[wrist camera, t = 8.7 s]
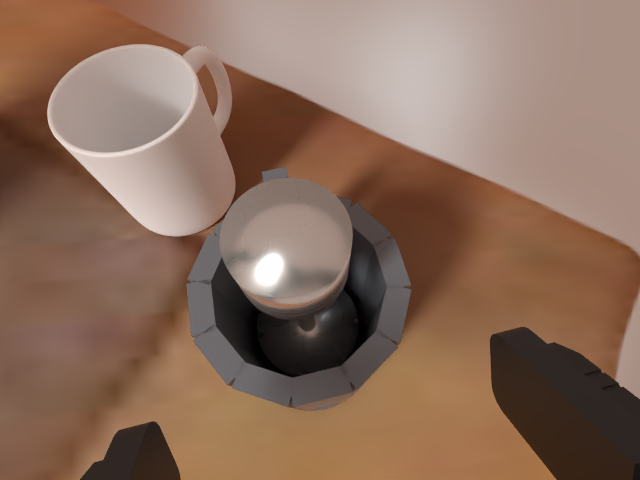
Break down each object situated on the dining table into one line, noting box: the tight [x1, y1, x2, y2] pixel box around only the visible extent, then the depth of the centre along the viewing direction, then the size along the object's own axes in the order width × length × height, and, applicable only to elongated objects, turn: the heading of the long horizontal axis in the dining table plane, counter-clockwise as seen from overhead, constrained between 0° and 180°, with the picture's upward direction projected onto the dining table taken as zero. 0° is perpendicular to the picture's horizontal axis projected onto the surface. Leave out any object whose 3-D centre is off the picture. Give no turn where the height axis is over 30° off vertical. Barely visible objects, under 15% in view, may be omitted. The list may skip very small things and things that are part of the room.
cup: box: [47, 44, 236, 236], centre depth 26 cm, size 8×12×10 cm
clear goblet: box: [219, 178, 358, 377], centre depth 16 cm, size 5×5×12 cm
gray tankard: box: [187, 167, 411, 411], centre depth 20 cm, size 8×11×12 cm
